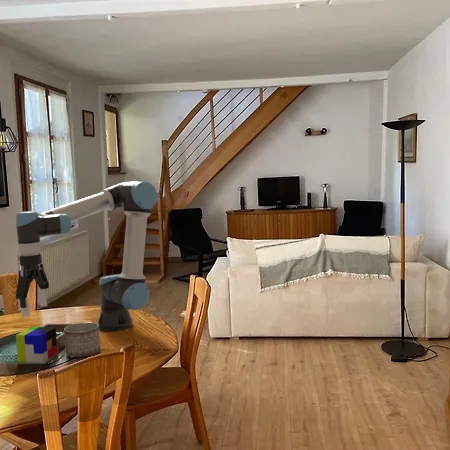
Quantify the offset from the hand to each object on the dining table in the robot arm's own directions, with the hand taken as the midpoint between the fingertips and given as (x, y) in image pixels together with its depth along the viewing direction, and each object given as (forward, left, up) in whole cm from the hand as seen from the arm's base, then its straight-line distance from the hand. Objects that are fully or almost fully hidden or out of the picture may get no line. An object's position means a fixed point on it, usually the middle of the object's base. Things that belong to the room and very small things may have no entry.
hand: (34, 311), depth 185 cm
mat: (0, 0, -18) cm, 18 cm away
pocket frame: (+4, -18, -18) cm, 26 cm away
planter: (-15, -6, -19) cm, 24 cm away
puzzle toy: (0, 0, -18) cm, 18 cm away
